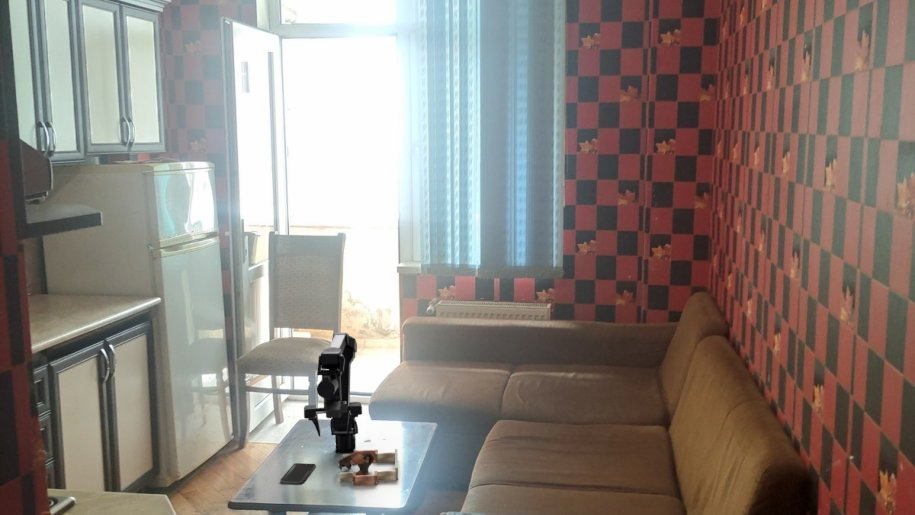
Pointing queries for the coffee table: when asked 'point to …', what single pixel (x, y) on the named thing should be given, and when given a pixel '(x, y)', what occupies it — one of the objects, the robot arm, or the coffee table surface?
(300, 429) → the coffee table surface
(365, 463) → the pottery mug
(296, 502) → the coffee table surface
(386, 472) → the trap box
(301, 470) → the phone
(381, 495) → the coffee table surface
